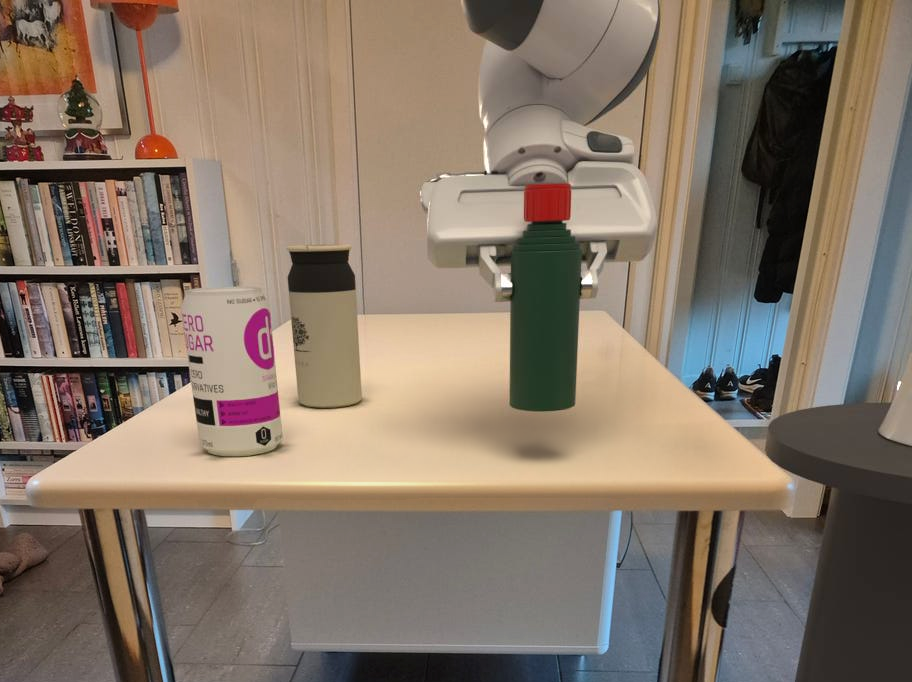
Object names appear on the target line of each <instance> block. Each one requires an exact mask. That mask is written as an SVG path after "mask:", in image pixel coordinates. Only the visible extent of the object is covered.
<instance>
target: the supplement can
mask: <svg viewBox="0 0 912 682" xmlns="http://www.w3.org/2000/svg"><path fill="white" fill-rule="evenodd" d="M180 313H181V315H180V316H181V322H182V328H183V329H182V330H183V336H184V342H185V349H186V356H187V362H188V363H187V364H188V369H189V370H188V371H189V378H190V384H191V392H192V398H193V406H194V413H195V420H196V426H197V434H198V440H199V445H200V447H202V448H204V449H205V450H206V451H207V453H208V454H210V455H213V456H219V457H220V456H221V457H246V456H247V457H248V456H256V455H260V454H265V453H268V452H271V451H273V450H275V449H277V447H278V445H279V444H280V443H281V442H282V440H283V429H282V428H283V427H282V418H281V408H280V397H279V387H278V378H277V368H276V358H275V357H276V356H275V347H274V336H273V327H272V326H273V325H272V317H271V307H270V303H269V301H268V300H267V298H266V297H265V295H264V293H263V292H262V287H261V286H248V285H247V286H244V285H243V286H242V285H241V286H239V285H238V286H236V285H235V286H213V287H212V286H211V287H198V288H197V287H196V288H189V289H186V290H184V298H183V299H182V302H181V306H180Z"/></svg>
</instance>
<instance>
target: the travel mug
mask: <svg viewBox="0 0 912 682" xmlns="http://www.w3.org/2000/svg"><path fill="white" fill-rule="evenodd" d="M351 249H352V245H351V244H343V243H341V244H340V243H339V244H334V243H333V244H332V243H331V244H303V245H302V244H301V245H288V246H287V247H286V251H288V252H289V255H290V261H291V263H292V264H291V267H290V269H289V272H288V275H287V289H288V299H289V310H290V321H291V332H292V345H293V354H294V366H295V367H294V368H295V377H296V388H297V399H298V403H300V404H302V405H303V406H306V407H309V408H313V409H314V408H316V409H319V408H320V409H334V408H343V407H349V406H352V405H353V406H354V405H356V404H358V403H359V402H360V401H362V400H363V392H362V376H361V357H360V342H359V341H360V340H359V339H360V338H359V322H358V305H357V304H358V303H357V287H356V284H357V283H356V274H355V272H354V271H353V269H352V267H351V265H350V263H349V260H350V251H351Z"/></svg>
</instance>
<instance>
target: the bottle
mask: <svg viewBox="0 0 912 682" xmlns="http://www.w3.org/2000/svg"><path fill="white" fill-rule="evenodd" d="M562 222H563V221H538V222H531V224H527V231H523V235H522V237H519V238H518V244H513V251H511V266H510V273H511V277H512V281H511V282H512V285H513V293H512V296H511V297H512V299H511V301H509V302H510V303H509V305H510V309H509V310H510V311H509V401H508V402H509V403H508V404H509V407H510V408H512V409H515V410H517V411H524V412H536V413H537V412H539V413H540V412H541V413H542V412H543V413H544V412H545V413H546V412H547V413H548V412H559V411H565V410H569V409H572V408H573V407H575V406H576V399H577V398H576V397H577V396H576V394H577V373H578V353H579V352H578V350H579V349H578V347H579V327H580V325H579V324H580V302H581V299H580V282H581V270H582V263H581V259H582V249H580V242H575V236H571V230H570V229H566V228H567V223H562Z"/></svg>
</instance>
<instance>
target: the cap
mask: <svg viewBox="0 0 912 682" xmlns="http://www.w3.org/2000/svg"><path fill="white" fill-rule="evenodd" d="M570 216H571V184H567V183H565V184H536V185H525V192H524V221H525V222H538V221H566V220H570Z"/></svg>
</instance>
